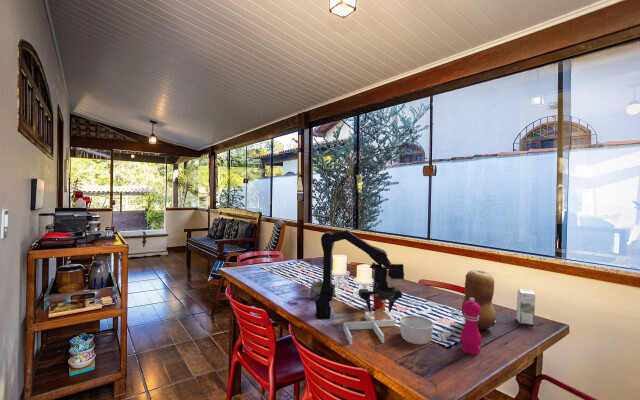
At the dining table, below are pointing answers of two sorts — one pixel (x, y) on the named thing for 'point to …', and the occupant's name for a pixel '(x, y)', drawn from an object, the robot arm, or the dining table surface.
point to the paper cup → (378, 302)
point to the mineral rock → (316, 290)
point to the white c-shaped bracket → (362, 325)
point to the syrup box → (525, 306)
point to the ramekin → (416, 329)
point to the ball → (379, 314)
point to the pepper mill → (471, 328)
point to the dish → (381, 323)
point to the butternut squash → (481, 296)
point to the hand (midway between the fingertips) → (379, 312)
